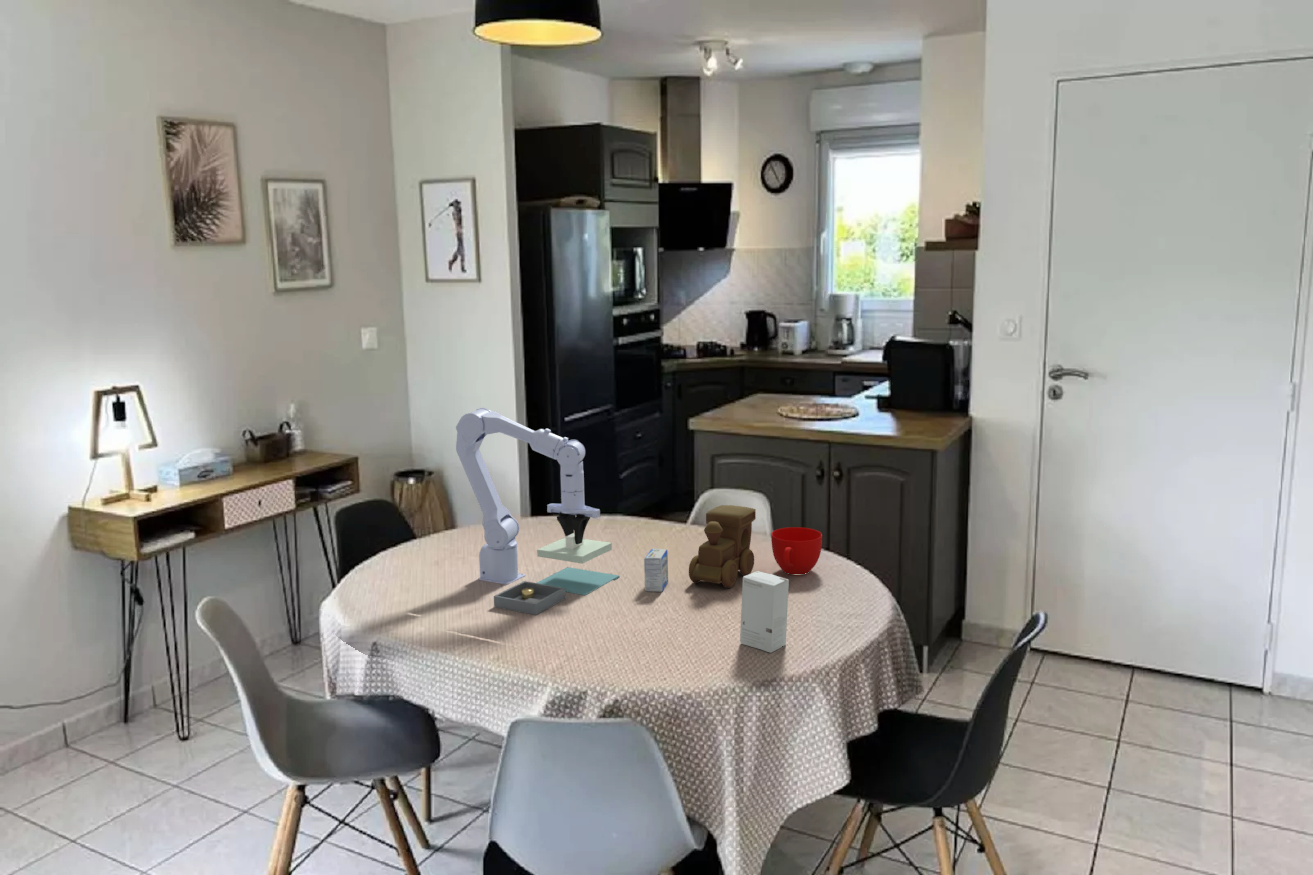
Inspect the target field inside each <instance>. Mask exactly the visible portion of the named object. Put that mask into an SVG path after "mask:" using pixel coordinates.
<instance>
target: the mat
mask: <svg viewBox="0 0 1313 875" xmlns="http://www.w3.org/2000/svg"><path fill="white" fill-rule="evenodd" d="M620 577H621V576H620V575H619V574H612V573H607V572H601V571H594V570H590V569H589V570H587V569H581V568H575V567H571V566H570V567H569V566H567V567H565V568H563V569H560V570H559V571H557V572H555V573H553V574H551V575H549V576H547V577H545V578H543V579H541V580H538V581H537V582H536V583H539V584H544V585H550V586H556V587H561V588H565V593H570V594H574V595H580V596H587V595H588V594H591V593H592V592H594V591H595V590H597V589H599V588H601V587H603V586H605V585H606V584H608V583H610V582H612V581H616V580H618V579H619V578H620Z"/></svg>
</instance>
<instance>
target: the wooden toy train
mask: <svg viewBox="0 0 1313 875" xmlns="http://www.w3.org/2000/svg"><path fill="white" fill-rule="evenodd" d="M756 514H757V513H756V508H752V507H748V506H742V505H741V506H740V505H731V504H729V505H728V504H723V505H722V504H721V505H719V506H716V507H714V508H712V509H710V510H708V511H707V512H706V514H705V524H706V526H705V527H704V530H703V532H704V534H705V536H706V538H707V541H704V542H702V544H701V545H700V546H698V553H697V555H694V556H693V557H692V558H691V560H690V561H689V562H690V563H689V565H688V576H689V579H690V581H691V582H692V583H694V584H697V583H700V582H701V581H703V582H707V583H708V582H709V583H714V584H720V583H721V585H722V586H723V587H724V588H726V589H730V588H732V587H733V586H734V585H735V583H736V582H737V579H738V571H739V572H740V574H741V575H742V576H743V577H744V576H746V575H749V574H751V573H753V572H752V571H753V570H754V567H755V566H754V565H755V554H754V552H753V550H752V549H750V547H751V542H752V541H751V540H752V530H753V528H752V526H753V525H752V524H753V523H752V522H754V521H755V520H756V518H757V517H756V516H757V515H756Z"/></svg>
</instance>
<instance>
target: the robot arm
mask: <svg viewBox="0 0 1313 875" xmlns="http://www.w3.org/2000/svg"><path fill="white" fill-rule="evenodd" d="M455 430H456V441H455V446H456V447H455V450H456V453H457V456H458V458H459V460H460V463H461V465H462V467H463V470H464V472H465V475H466V477H467V479H468V482H469V484H470V486H471V489H472V491H473V493H474V496H475V498H476V501H477V503H478V505H479V507H480V509H481V512H482V515H483V516H482V524H481V525H482V527H483V530H484V536H483V537H484V541H485V544H483V545H482V546H481V548H480V550H479V556H478V561H479V562H478V564H479V577H478V580H479V581H484V582H488V583H489V582H490V583H495V584H496V583H497V584H502V585H510V584H511V583H512V584H513V582H516V581H518V580H520V579H522V578H524V577H526V576H527V575H526V573H525V574H524V573H519V562H518V561H519V558H518V543H517V540H516V538H517V536H518V535H519V532H520V525H519V522H518V520H517V519H516V518H515V517H514V516H513V515H512V514H511V511H510V510H509V509H508V508H507V507H506V506H505V505H503V503H502V500H501V497H500V496H499V495H500V494H499V493H498V490H497V488H496V486H495V483H494V482H493V479H492V477H491V474H490V472H489V469H488V467H487V465H486V463H485V460H484V458H483V456H482V453H481V451H480V447H481V445H482V443H483V441H484V439H485V437H486V436H487V435H492V434H498V433H500V434H503V435H507V436H509V437H512V438H514V439H517V440H520V441H522V442H525V443H527V444H528V445H529V446H530V448H531V450H532V451H534V452H536V453H539V454H541V455H544V456H546V457H547V458H550V459H552V460H556V461H557V462H558V464H559V466H560V474H559V475H560V494H561V495H560V496H561V497H560V499H561V500H560V501H561V503H549V504H547V505H546V506H547V508H546V509H547V510H546V511H547V513H556V514H557V513H558V514H559V515H557V516H556V520H557V522H558V523H559V525H560V526H561V528H562V531H563V534H564V537H565V536H568V535H570V534H572V533H574V534H575V543H576V544H580V543H582V540H583V539H584V534H585V531H586V527H587V525H588V524H589V521H590V520H591V518H592V519H598V518H600V517H601V510H600V508H595V507H591V506H588V505H586V504H585V503H586V502H585V477H584V476H585V475H584V473H585V472H584V461H583V460H584V458H585V456H586V448H585V446H584V444H583V443H581V442H580V441H579V440H578V439H570V440H569V437H566V436H564V437H562V436H559V435H557V434H555V433H553V432H552V430H551V429H549V428H545V429H544V428H539V429H537V430H534V429H531V428H529V427H527V426H525V425H523V424H521V423H519V422H517V421H515V420H513V419H511V418H508V417H506V416H504V415H503V414H501V413H500V412H498V411H495V410H490V409H488V408H486V407H479V408H477V409H476V410H474V411H471V412H469V413H464V414H463V415H462V416H461V417H460V419H459V420H458V423H457V424H456V426H455Z"/></svg>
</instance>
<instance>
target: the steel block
mask: <svg viewBox="0 0 1313 875" xmlns="http://www.w3.org/2000/svg"><path fill="white" fill-rule="evenodd" d="M525 601H528V602H533V603H535V602H537V601H539V600H538V599H533V598H529V599H527V600H525Z"/></svg>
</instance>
